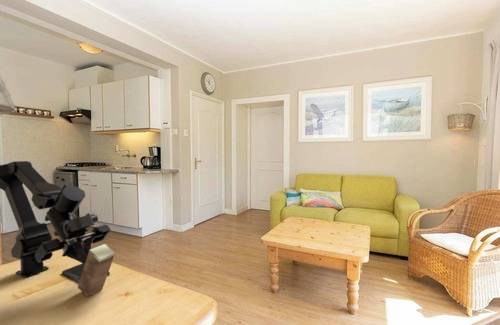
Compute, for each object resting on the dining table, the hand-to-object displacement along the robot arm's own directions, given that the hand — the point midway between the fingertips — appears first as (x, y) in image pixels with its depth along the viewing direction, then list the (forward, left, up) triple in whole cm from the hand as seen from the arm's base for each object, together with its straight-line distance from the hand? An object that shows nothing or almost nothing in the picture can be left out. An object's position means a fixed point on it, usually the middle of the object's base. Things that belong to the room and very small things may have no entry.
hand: (90, 264), depth 72 cm
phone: (-12, +6, -8) cm, 16 cm away
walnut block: (0, 0, -7) cm, 7 cm away
